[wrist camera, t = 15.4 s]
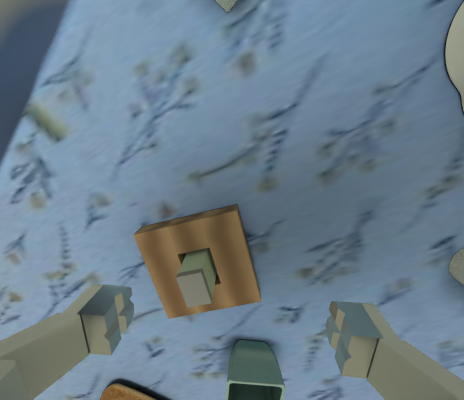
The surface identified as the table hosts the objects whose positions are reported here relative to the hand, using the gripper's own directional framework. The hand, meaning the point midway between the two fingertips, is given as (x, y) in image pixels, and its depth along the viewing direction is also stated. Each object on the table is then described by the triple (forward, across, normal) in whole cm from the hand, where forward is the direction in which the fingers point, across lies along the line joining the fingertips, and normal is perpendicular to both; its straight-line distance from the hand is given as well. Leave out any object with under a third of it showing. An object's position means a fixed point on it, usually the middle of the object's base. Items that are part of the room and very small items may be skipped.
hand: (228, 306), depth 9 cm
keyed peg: (+25, +6, +14) cm, 30 cm away
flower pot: (+26, -3, +34) cm, 43 cm away
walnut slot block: (+25, +6, +14) cm, 30 cm away
